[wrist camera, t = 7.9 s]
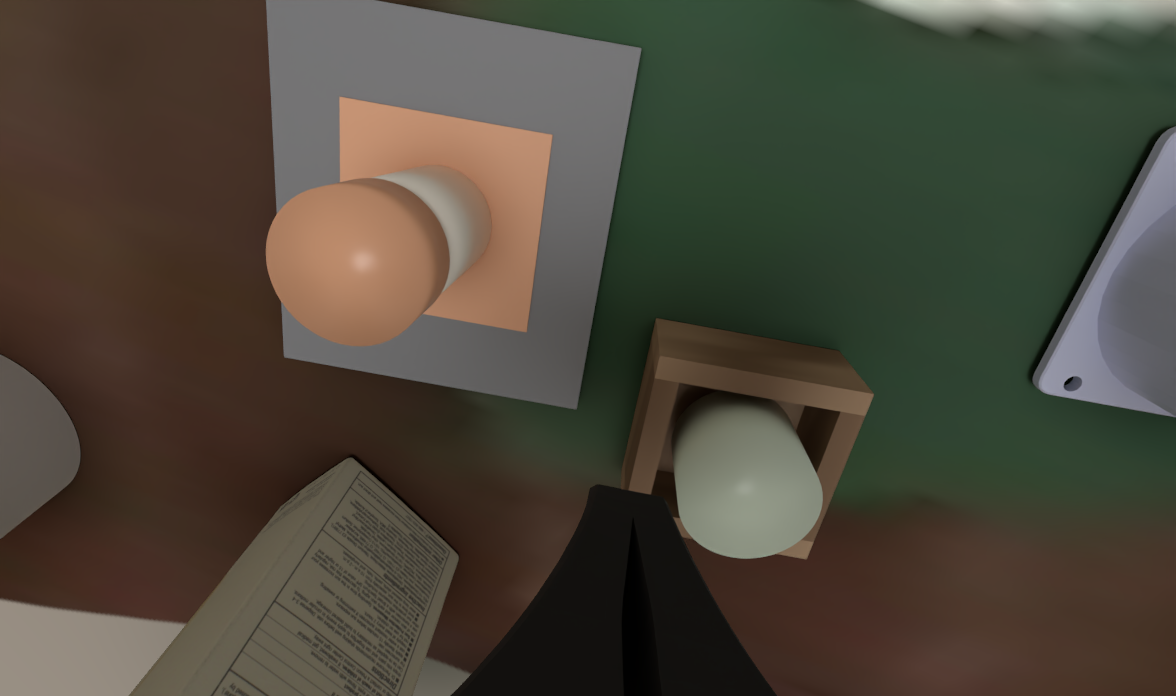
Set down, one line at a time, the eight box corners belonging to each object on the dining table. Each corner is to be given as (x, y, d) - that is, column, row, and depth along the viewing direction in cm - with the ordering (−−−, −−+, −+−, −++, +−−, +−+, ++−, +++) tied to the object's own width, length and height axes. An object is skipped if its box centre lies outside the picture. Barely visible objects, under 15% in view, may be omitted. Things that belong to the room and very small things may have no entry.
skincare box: (279, 504, 23) (-53, 888, 12) (353, 449, 22) (59, 824, 11) (394, 605, 25) (199, 1025, 14) (469, 561, 24) (321, 983, 12)
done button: (810, 401, 18) (842, 457, 15) (774, 501, 19) (797, 569, 16) (686, 378, 18) (696, 430, 15) (659, 480, 19) (664, 545, 16)
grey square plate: (641, 50, 16) (641, 47, 15) (577, 401, 20) (576, 410, 20) (277, -16, 16) (262, -21, 15) (293, 350, 20) (282, 358, 20)
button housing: (839, 350, 19) (874, 394, 16) (783, 499, 21) (806, 559, 19) (655, 317, 19) (660, 355, 16) (621, 470, 21) (619, 525, 19)
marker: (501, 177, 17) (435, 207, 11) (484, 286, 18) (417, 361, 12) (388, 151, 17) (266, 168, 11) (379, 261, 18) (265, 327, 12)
